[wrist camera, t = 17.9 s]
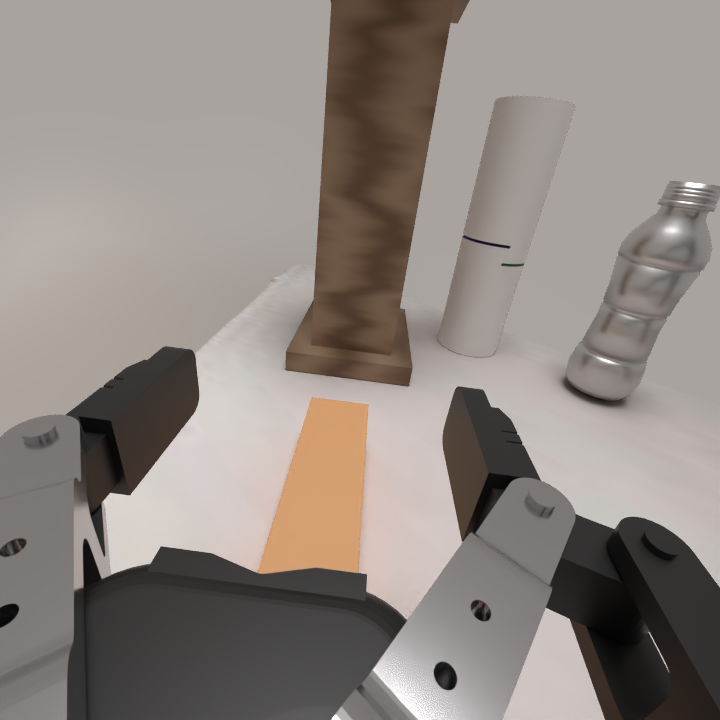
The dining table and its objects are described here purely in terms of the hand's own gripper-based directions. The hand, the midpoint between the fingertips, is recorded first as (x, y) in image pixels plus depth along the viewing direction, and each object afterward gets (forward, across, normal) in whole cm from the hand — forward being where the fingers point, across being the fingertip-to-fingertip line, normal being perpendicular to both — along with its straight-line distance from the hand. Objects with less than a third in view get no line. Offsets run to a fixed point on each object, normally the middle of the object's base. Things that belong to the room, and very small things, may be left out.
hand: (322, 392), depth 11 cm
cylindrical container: (+33, -14, +12) cm, 38 cm away
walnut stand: (+29, 0, +12) cm, 31 cm away
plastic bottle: (+25, -26, +12) cm, 38 cm away
